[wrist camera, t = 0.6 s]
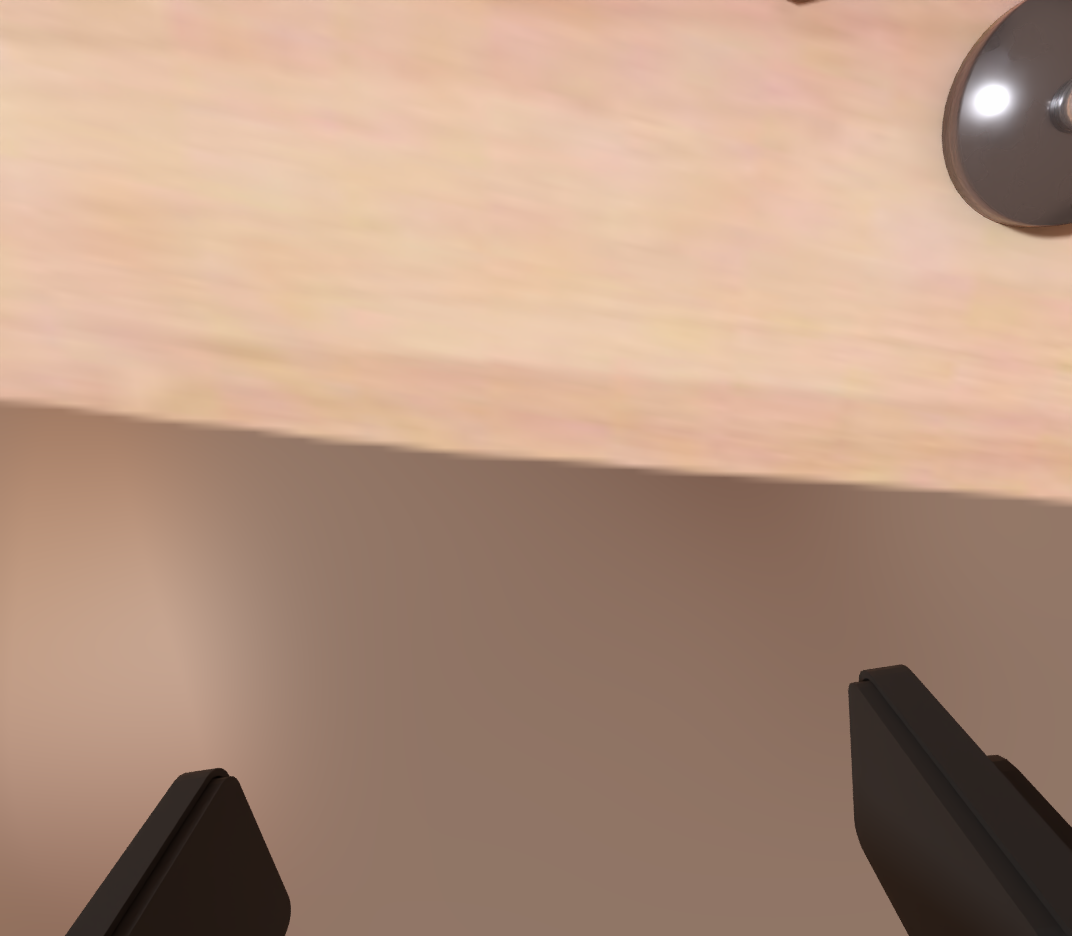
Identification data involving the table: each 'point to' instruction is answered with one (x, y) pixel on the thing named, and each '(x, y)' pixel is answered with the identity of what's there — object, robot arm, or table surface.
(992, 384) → the table surface
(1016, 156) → the metal pot lid
